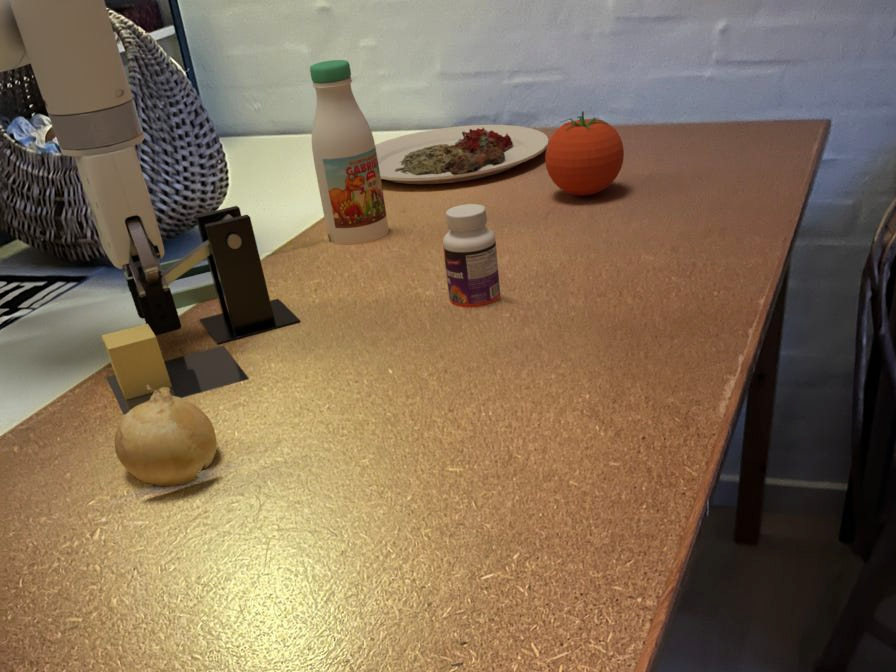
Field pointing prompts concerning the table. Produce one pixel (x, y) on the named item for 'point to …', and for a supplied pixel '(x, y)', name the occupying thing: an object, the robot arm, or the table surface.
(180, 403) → the onion
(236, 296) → the black lever stand
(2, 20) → the robot arm
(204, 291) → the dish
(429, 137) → the plated food
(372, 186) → the milk bottle
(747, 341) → the table surface
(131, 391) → the yellow rectangular block
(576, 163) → the tomato
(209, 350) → the board
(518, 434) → the table surface
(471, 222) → the pill bottle
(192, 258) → the lever
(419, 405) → the table surface
